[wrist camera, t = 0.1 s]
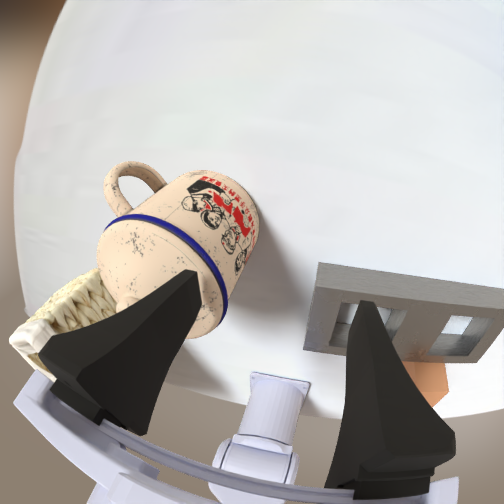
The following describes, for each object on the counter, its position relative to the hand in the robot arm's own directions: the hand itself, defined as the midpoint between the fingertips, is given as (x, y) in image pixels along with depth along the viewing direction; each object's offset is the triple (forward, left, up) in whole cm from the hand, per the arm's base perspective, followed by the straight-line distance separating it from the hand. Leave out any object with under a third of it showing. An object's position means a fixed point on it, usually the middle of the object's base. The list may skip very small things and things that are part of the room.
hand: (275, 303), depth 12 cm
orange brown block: (-16, -16, -10) cm, 24 cm away
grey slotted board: (-9, -12, -10) cm, 18 cm away
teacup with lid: (-1, +8, -10) cm, 13 cm away
